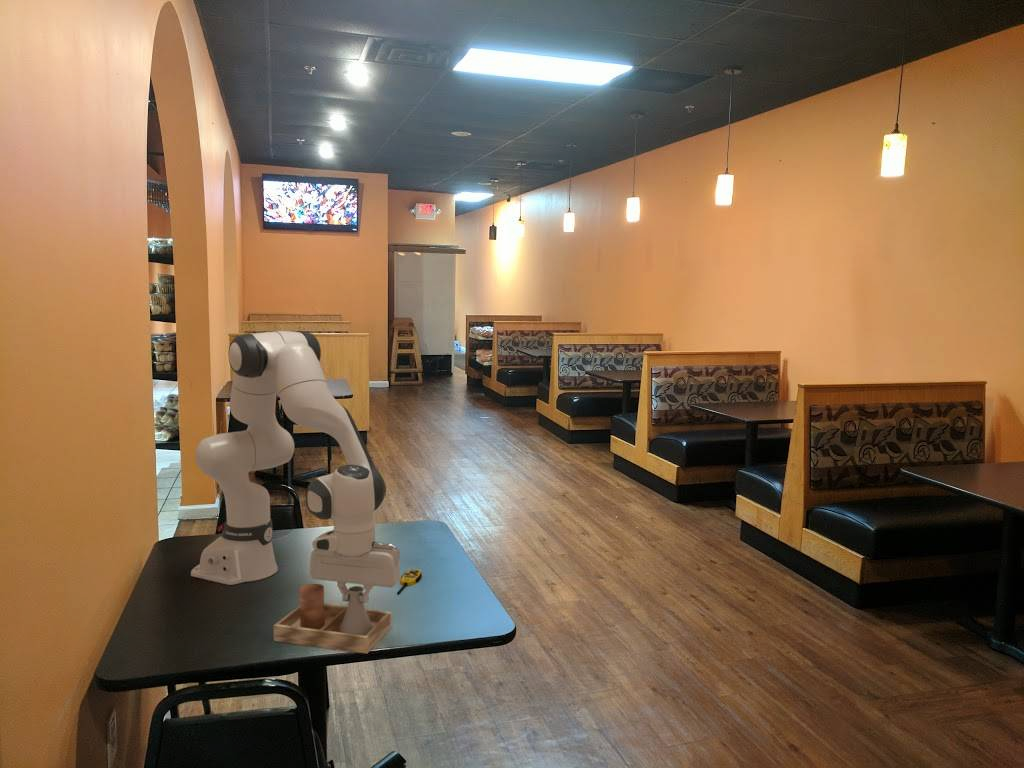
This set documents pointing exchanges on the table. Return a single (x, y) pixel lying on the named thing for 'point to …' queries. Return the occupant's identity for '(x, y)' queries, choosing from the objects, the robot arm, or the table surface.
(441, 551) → the table surface
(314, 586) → the condiment caddy
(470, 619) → the table surface
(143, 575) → the table surface
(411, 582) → the yellow walkie talkie
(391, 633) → the table surface
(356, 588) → the flask
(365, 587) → the robot arm
